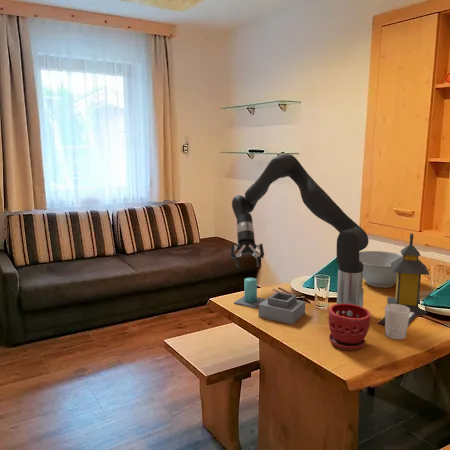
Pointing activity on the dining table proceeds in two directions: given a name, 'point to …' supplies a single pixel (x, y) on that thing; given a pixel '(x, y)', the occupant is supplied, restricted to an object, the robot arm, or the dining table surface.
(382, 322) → the chocolate bar
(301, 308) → the gray socket block
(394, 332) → the white cup
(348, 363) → the dining table surface
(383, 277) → the decorative bowl
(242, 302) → the mat
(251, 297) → the teal cylindrical peg
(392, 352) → the dining table surface
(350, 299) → the robot arm
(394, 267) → the lantern
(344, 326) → the plant pot
